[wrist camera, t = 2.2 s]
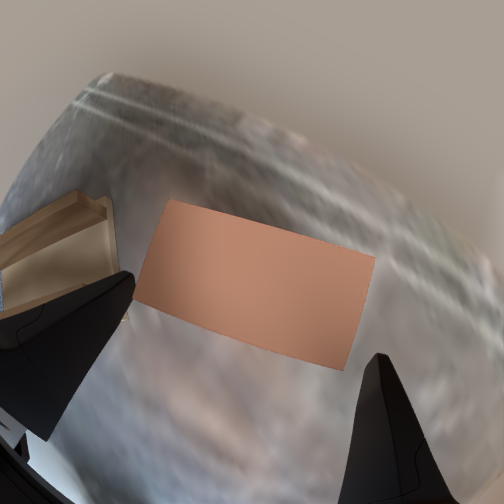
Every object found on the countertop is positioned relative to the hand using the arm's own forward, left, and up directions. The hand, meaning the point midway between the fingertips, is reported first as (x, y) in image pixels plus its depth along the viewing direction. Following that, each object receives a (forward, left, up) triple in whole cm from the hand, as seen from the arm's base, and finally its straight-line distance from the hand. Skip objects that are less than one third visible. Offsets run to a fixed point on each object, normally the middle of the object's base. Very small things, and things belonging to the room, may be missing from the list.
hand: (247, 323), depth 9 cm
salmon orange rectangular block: (+1, +1, -9) cm, 9 cm away
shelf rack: (-14, +13, -9) cm, 21 cm away
